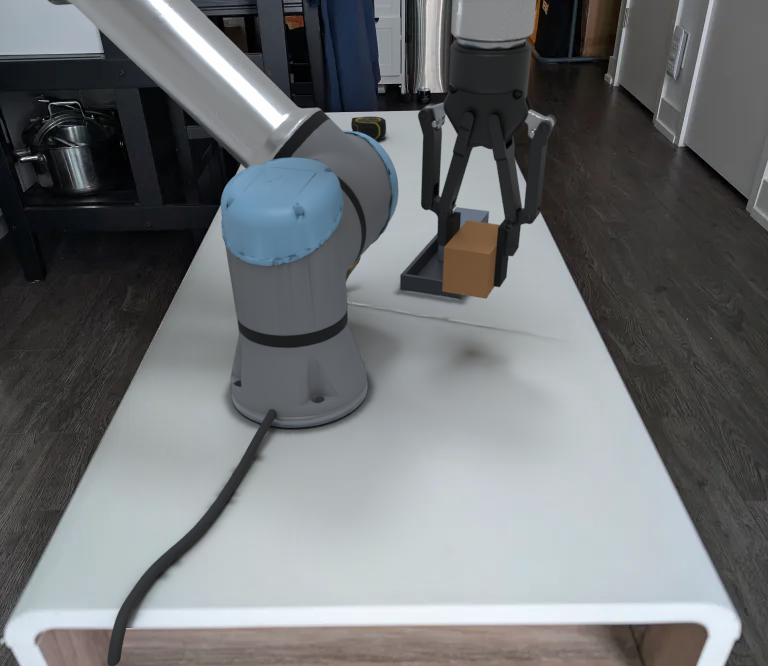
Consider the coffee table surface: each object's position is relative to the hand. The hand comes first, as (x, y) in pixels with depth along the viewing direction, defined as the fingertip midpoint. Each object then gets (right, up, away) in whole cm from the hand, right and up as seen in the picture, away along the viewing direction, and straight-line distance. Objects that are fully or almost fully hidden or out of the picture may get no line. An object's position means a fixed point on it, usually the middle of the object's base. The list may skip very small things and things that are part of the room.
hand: (475, 277), depth 89 cm
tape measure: (-13, +50, +74) cm, 90 cm away
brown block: (0, 0, 0) cm, 0 cm away
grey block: (+1, +12, +28) cm, 31 cm away
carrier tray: (0, +9, +25) cm, 27 cm away
